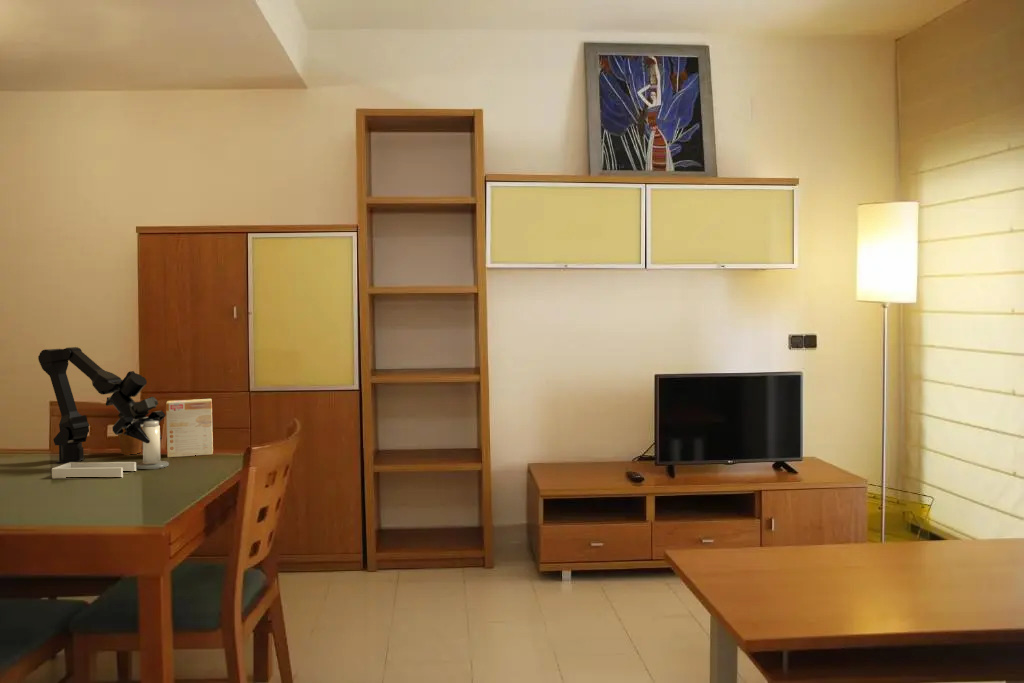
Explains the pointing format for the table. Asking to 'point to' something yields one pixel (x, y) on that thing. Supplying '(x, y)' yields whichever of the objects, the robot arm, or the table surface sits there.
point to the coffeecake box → (189, 427)
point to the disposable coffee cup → (129, 444)
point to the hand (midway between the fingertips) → (154, 441)
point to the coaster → (152, 465)
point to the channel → (93, 469)
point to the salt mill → (151, 441)
